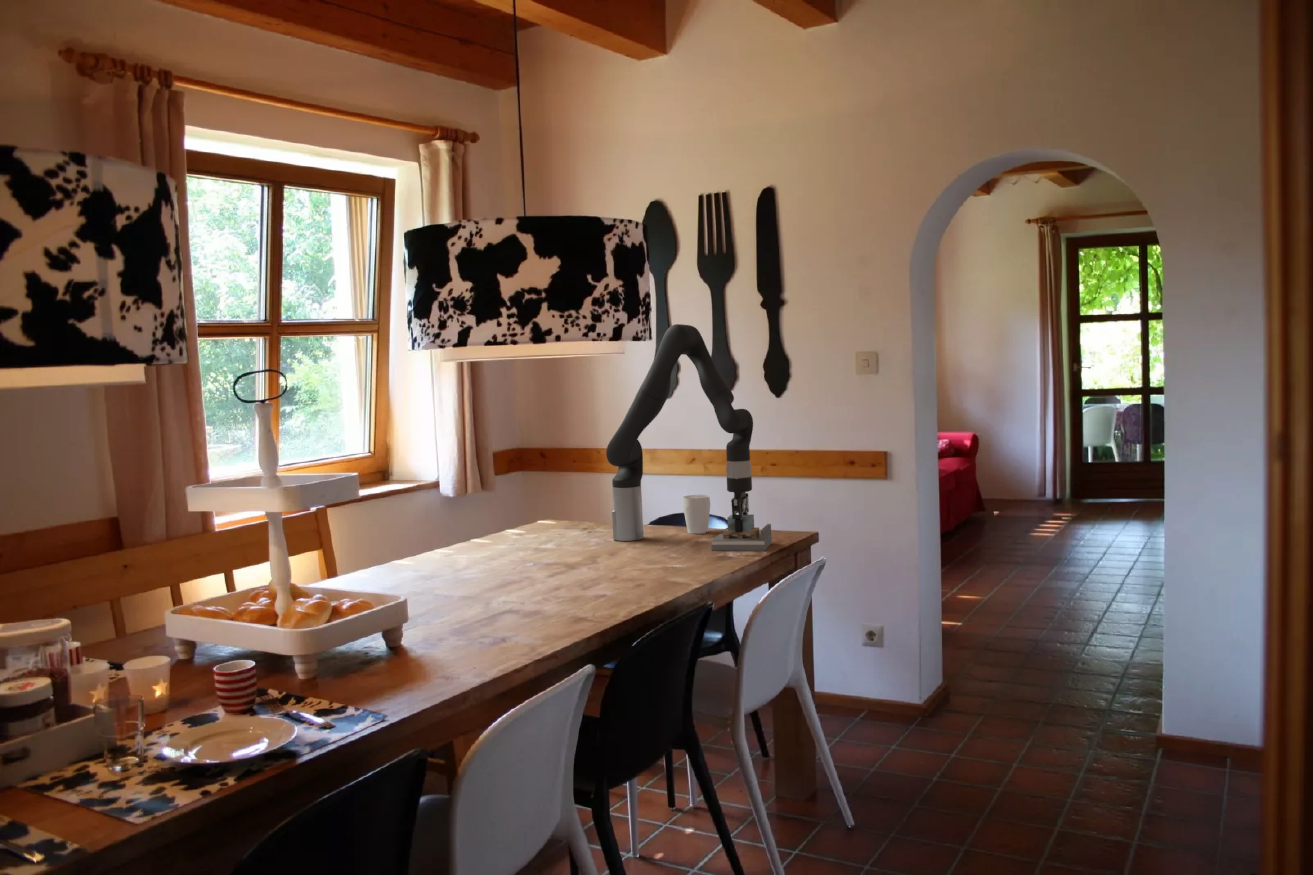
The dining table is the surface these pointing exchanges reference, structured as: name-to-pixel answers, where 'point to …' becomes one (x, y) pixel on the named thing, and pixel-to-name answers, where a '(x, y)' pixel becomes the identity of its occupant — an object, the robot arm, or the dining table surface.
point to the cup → (696, 513)
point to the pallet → (740, 534)
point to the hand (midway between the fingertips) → (741, 530)
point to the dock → (743, 542)
